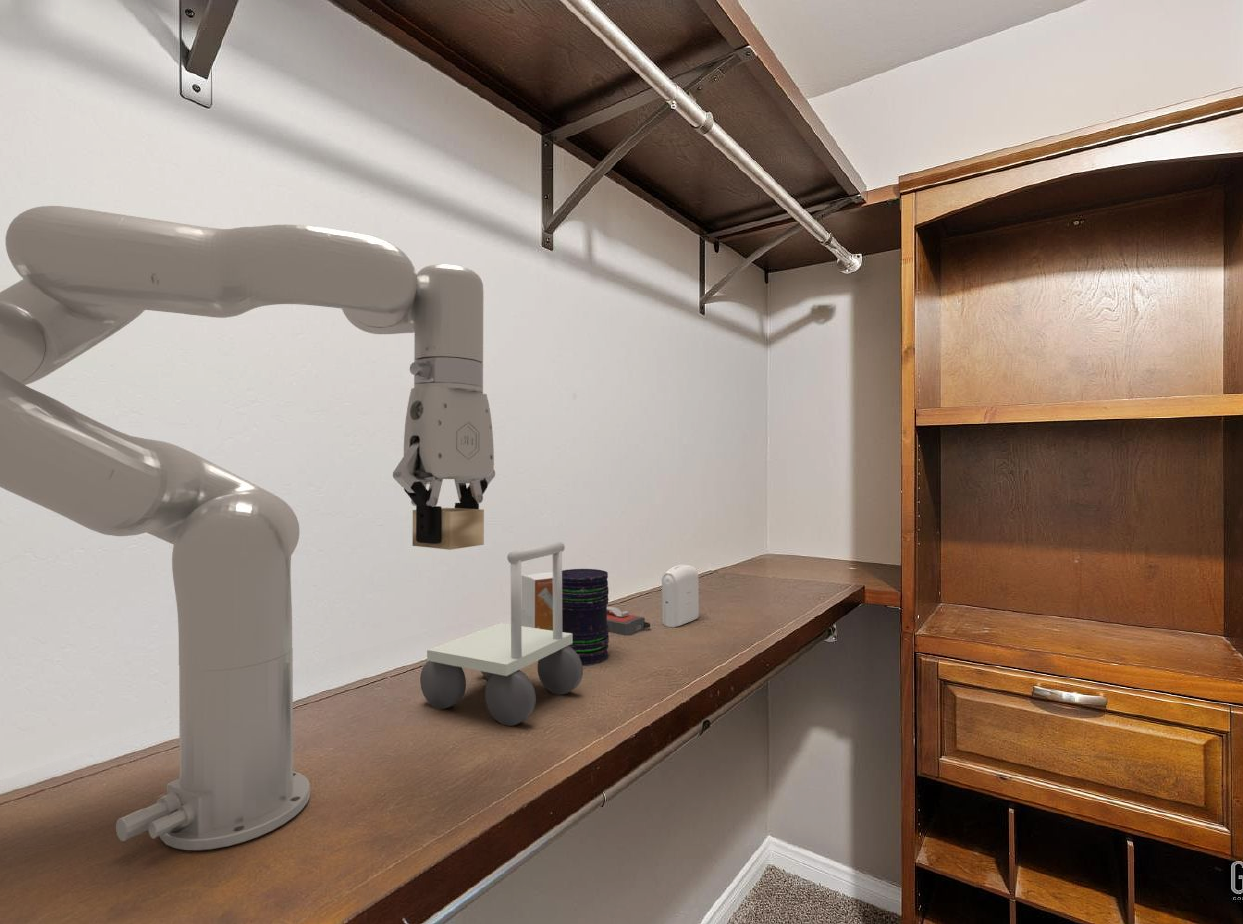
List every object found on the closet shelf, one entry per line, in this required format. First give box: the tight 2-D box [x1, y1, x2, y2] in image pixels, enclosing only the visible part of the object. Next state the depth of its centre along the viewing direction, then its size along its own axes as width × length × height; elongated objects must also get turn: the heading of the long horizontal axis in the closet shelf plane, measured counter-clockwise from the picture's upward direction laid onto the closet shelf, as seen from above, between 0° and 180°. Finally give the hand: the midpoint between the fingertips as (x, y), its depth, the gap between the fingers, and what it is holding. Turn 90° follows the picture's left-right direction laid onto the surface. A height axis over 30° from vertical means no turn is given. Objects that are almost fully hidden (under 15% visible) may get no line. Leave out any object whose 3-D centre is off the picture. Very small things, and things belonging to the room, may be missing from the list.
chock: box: [411, 507, 485, 551], centre depth 68 cm, size 5×6×4 cm
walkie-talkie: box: [607, 605, 651, 636], centre depth 130 cm, size 9×4×20 cm
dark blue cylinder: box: [562, 568, 610, 667], centre depth 108 cm, size 10×10×15 cm
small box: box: [521, 571, 553, 631], centre depth 118 cm, size 8×6×13 cm
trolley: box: [419, 541, 584, 727], centre depth 89 cm, size 16×19×23 cm
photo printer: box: [661, 564, 700, 628], centre depth 132 cm, size 10×4×12 cm, turn 141°
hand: (448, 538), depth 68 cm, fingers closed on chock, 5 cm apart
